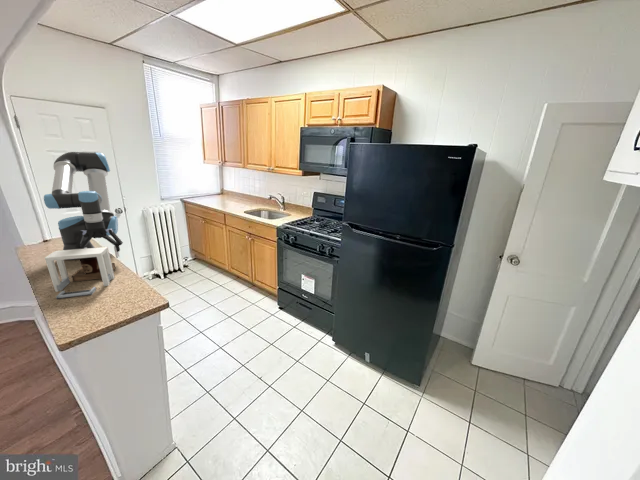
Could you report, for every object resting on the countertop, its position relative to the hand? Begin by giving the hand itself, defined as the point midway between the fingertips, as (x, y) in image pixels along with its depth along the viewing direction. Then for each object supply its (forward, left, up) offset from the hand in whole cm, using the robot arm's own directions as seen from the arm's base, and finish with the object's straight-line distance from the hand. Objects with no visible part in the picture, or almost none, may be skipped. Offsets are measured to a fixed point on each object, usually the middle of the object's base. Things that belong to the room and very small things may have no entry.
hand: (103, 258), depth 144 cm
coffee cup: (+15, 0, -4) cm, 16 cm away
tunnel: (+23, 0, -4) cm, 24 cm away
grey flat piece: (+33, 0, -4) cm, 34 cm away
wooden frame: (+9, 0, -4) cm, 10 cm away
